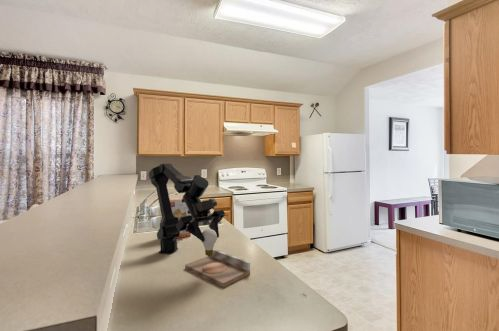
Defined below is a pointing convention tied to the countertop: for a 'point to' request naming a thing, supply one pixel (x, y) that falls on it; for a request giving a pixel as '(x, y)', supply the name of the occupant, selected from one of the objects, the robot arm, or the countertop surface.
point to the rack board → (220, 268)
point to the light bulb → (209, 241)
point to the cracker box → (179, 213)
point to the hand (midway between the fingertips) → (211, 239)
